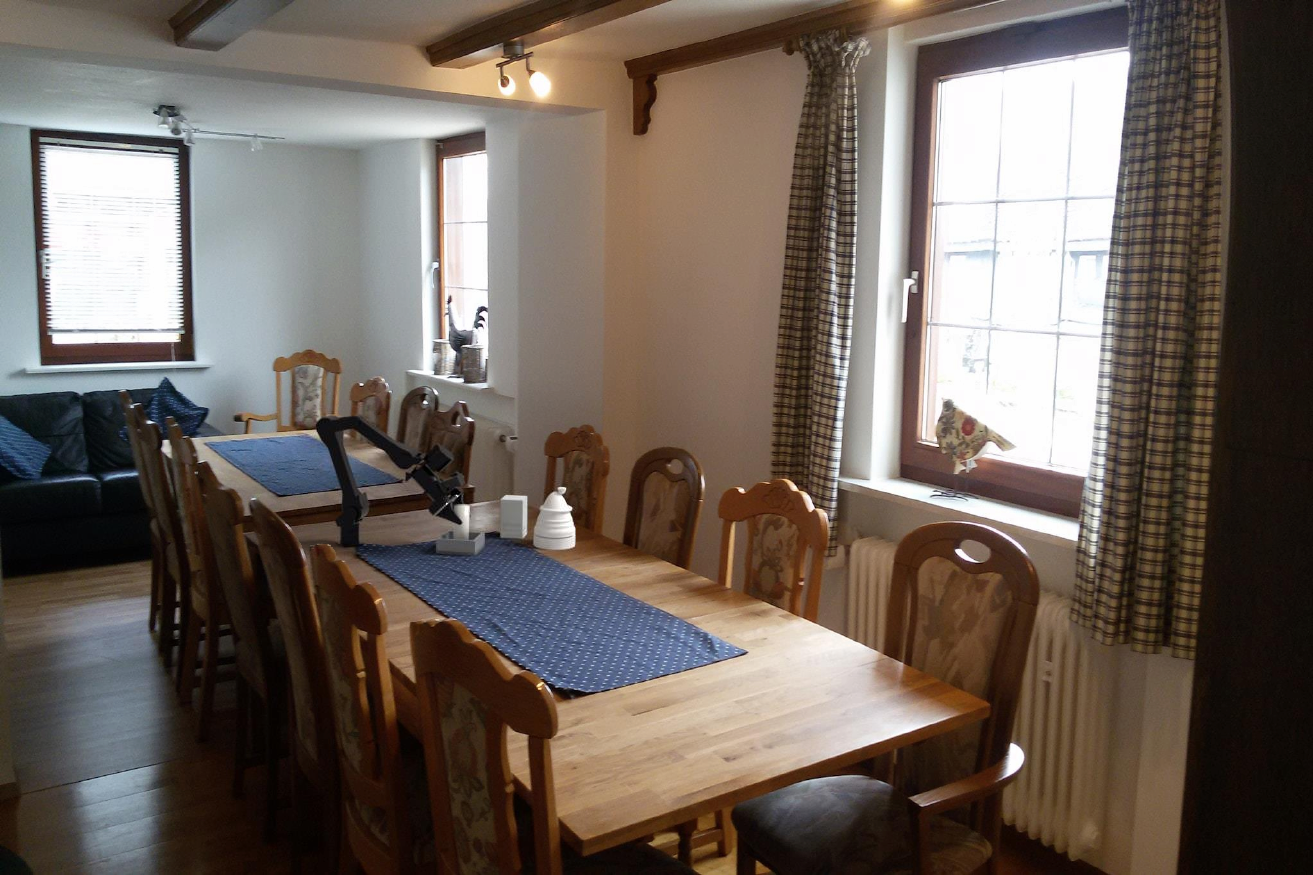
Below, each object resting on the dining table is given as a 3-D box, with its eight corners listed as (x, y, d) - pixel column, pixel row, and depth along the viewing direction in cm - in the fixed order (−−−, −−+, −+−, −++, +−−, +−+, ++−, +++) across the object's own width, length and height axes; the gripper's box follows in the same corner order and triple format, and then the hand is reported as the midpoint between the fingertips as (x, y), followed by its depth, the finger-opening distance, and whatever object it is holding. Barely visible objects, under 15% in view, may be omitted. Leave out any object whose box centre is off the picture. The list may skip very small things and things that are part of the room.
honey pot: (578, 541, 331) (579, 485, 329) (571, 551, 319) (572, 492, 316) (538, 538, 333) (539, 482, 330) (529, 548, 320) (530, 490, 318)
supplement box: (527, 534, 338) (528, 495, 337) (522, 539, 331) (523, 500, 329) (505, 532, 339) (505, 494, 337) (499, 538, 332) (500, 498, 330)
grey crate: (436, 553, 309) (436, 538, 309) (447, 544, 321) (447, 530, 320) (474, 556, 308) (475, 541, 308) (484, 546, 320) (484, 532, 319)
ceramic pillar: (449, 547, 313) (450, 505, 312) (458, 544, 318) (460, 503, 316) (462, 549, 311) (463, 507, 310) (471, 546, 316) (472, 505, 314)
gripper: (439, 469, 302) (476, 509, 303) (457, 459, 321) (492, 497, 321) (412, 495, 304) (449, 534, 304) (431, 483, 322) (466, 520, 323)
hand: (465, 520), depth 313 cm, fingers open, 9 cm apart
